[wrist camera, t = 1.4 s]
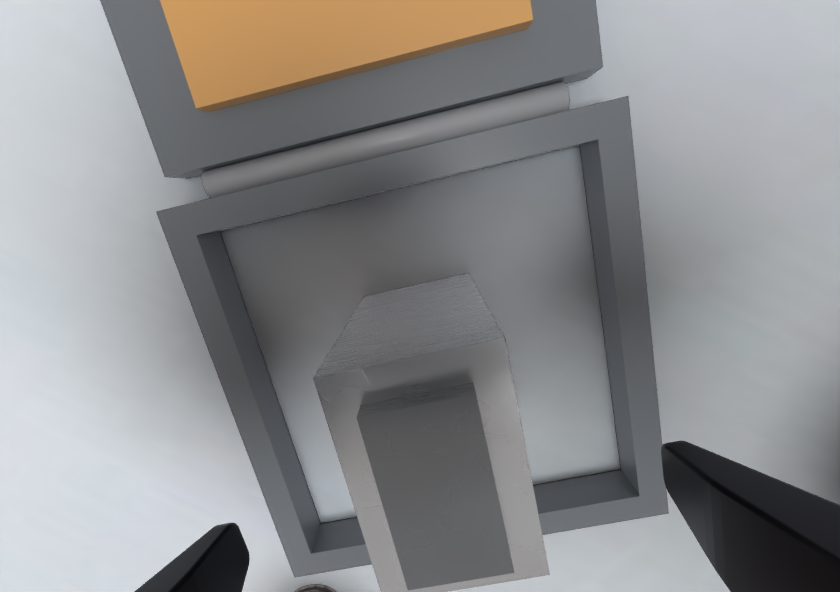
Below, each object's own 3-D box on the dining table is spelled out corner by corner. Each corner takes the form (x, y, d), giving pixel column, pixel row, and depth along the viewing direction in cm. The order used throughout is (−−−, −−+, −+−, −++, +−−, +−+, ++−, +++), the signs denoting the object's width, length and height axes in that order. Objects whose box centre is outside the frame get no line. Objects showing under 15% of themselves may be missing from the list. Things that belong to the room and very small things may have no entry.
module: (469, 272, 15) (509, 347, 8) (498, 415, 16) (556, 595, 9) (364, 296, 15) (305, 389, 8) (401, 434, 16) (381, 623, 9)
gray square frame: (606, 106, 13) (628, 95, 12) (647, 485, 17) (668, 513, 15) (183, 210, 14) (155, 211, 13) (305, 546, 18) (294, 577, 16)
